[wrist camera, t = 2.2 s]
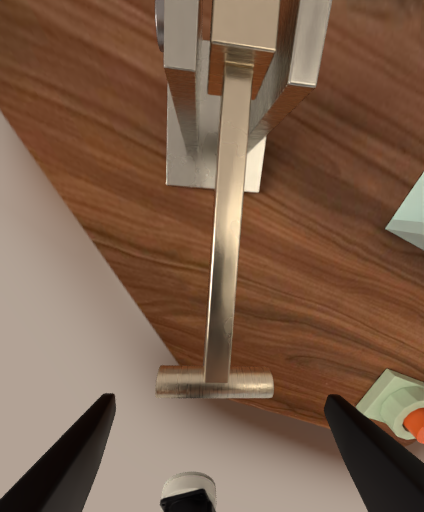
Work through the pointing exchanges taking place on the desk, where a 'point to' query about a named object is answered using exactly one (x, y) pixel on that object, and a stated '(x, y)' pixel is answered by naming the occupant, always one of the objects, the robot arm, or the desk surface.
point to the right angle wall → (411, 216)
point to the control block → (393, 401)
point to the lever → (229, 197)
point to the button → (416, 424)
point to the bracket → (207, 106)
